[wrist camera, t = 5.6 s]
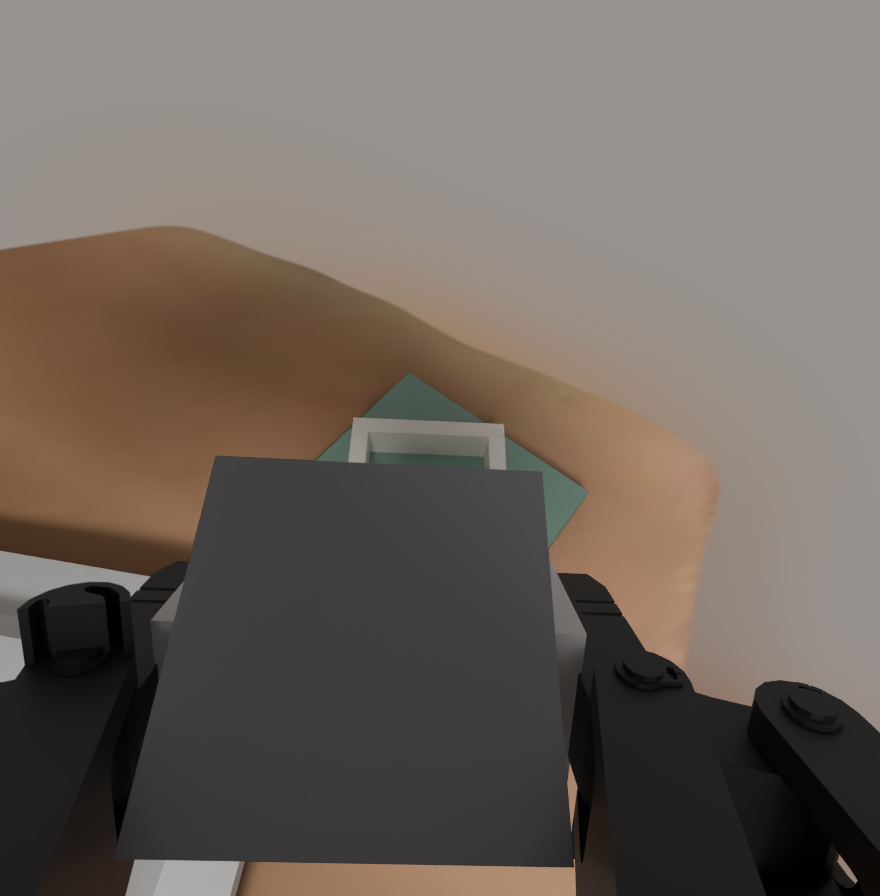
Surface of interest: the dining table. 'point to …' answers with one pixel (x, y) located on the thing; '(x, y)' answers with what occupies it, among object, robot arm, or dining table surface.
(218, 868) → the ventilation fan
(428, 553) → the plug
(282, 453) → the dining table surface
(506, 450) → the header board
